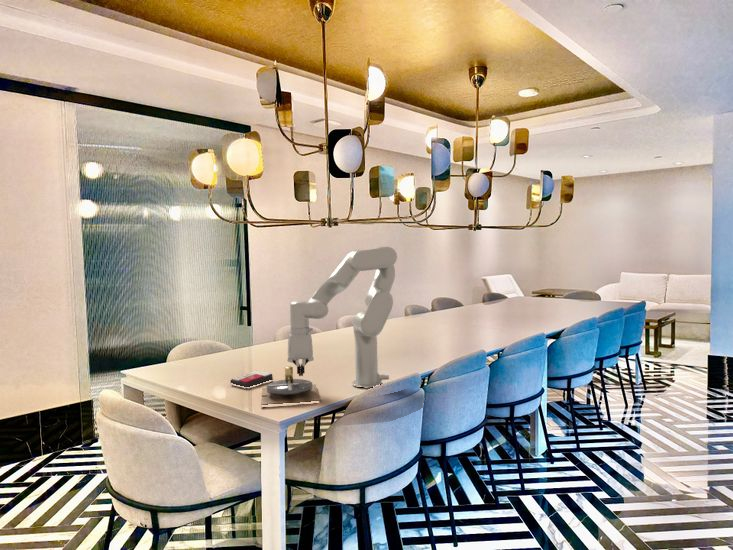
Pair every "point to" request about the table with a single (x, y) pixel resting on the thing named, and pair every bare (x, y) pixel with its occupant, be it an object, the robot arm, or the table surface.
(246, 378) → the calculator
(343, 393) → the table surface
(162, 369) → the table surface
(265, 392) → the valve base
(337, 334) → the table surface
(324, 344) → the table surface
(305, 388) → the handwheel
